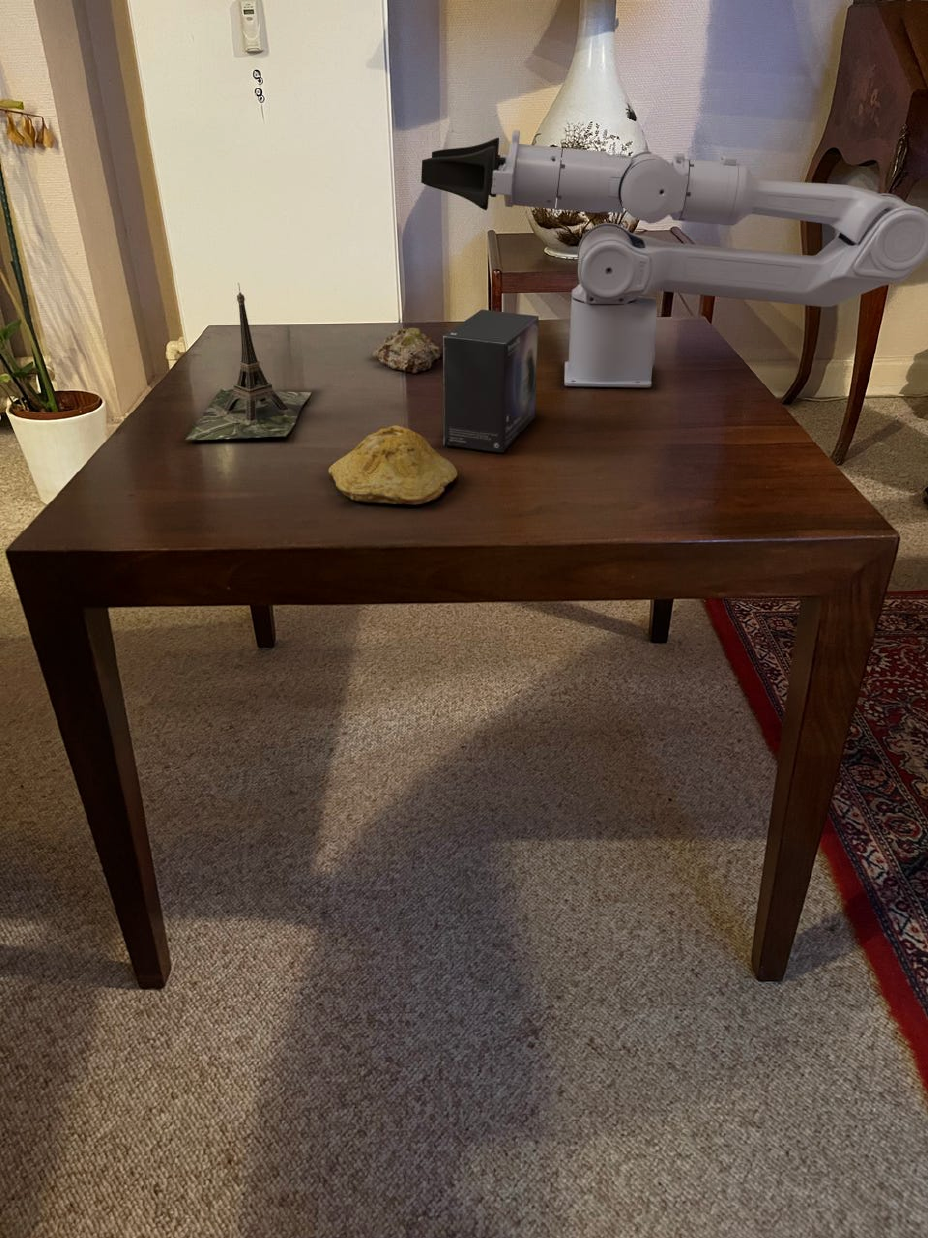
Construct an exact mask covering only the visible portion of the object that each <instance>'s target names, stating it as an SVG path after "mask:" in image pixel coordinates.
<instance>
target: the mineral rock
mask: <svg viewBox="0 0 928 1238" xmlns="http://www.w3.org/2000/svg"><path fill="white" fill-rule="evenodd" d="M441 354H443V351H442V350H441V347H440V346H437V345H436V344H435V340H434V339H433V338H431V337H428V336H427V335H426V334H425V333H422V331H421V329H420V328H417V327H401V328H400V329H399V330H396V331H394V332H391V333H390V335H389V336H387V337H386V338H385V339H384V340H383V341H382V342H381V346H377V347H376V348H375V351H373V353H372V355H373V356H374V357H375V358H376V359H378V360H379V362H380V363H383V364H385V365H387V367H389V368H391V369H392V370H399V371H404V372H407V373H408V372H410V373H412V374H418V373H419V372H422V371H427V370H429V369H430V368H431V367H433V362H434V361H437V360H439V359H440V357H441Z"/></svg>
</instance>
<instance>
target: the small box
mask: <svg viewBox="0 0 928 1238" xmlns="http://www.w3.org/2000/svg"><path fill="white" fill-rule="evenodd" d="M539 317H540V316H539V315H533V314H532V315H531V314H522V313H515V312H507V311H498V310H490V309H480V310H479V311H477V312H476V313H474V314H473V315H471V316H470V317H468V318H467V319H466V320H464V321H463V322H461V323H460V324H459V325H457V326H455V327H454V328H452V329H451V330H450V331H448V332H447V333H445V334H443V336H442V368H443V369H442V370H443V371H442V373H443V374H442V382H443V384H442V385H443V387H442V388H443V439H442V440H443V442H442V445H443V446H447V447H448V446H449V447H458V448H463V449H472V450H476V451H477V450H478V451H486V452H492V453H499V454H500V453H501V454H502V453H504V452H505V451H506V450H507V449H508V447H510V445H511V444H512V443H514V442H515V440H516V439H517V438H518V436H520V435H521V433H522V432H524V430H525V429H526V428H527V427H528V426H529V424H531V422H532V421H533V420H534V419H535V417H536V392H537V391H536V390H537V365H538V345H539V344H538V343H539V342H538V340H539V319H540V318H539Z"/></svg>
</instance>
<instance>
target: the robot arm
mask: <svg viewBox="0 0 928 1238" xmlns="http://www.w3.org/2000/svg"><path fill="white" fill-rule="evenodd" d="M520 137H521V131H520V130H517V129H514V130H513V131H512V137H511V141H510V144H509V148H508V155H507V154H503V155H500V154H499V147H500V137H495V138H493V139H491V140H490V139H489V140H488V141H485V142H483V143H479V144H475V145H471V146H470V145H469V146H464V147H456V148H455V147H453V148H445V149H438V150H434V151H432V152H431V157H428V158H425V159H422V160H421V177H420V182H421V184H423V185H426V186H428V187H430V188H434V189H436V190H440V191H444V192H446V193H447V192H448V193H450V194H453V195H456V196H459V197H461V198H464V199H466V200H467V201H469V202H471V203H472V204H474V205H476V206H477V207H478V208H479V209H482V210H483V211H487V210H488V209H489V201H490V199H489V198H490V197H491V198H496V197H497V195H500V196H501V195H502V196H503V200H504V206H505V207H506V208H513V207H514V206H517V207H529V208H539V209H549V210H560V211H561V210H562V211H571V212H582V213H591V214H600V213H613V214H624V212H625V211H626V213H627V214H628V215H629V216H631V217H632V218H635V219H636V220H638V221H643V222H646V223H647V224H649V225H650V224H651V225H652V224H655V223H656V224H657V223H658V222H661V221H663V220H664V219H666V218H667V217H669V216H670V217H671V219H672V220H673V221H676V222H677V221H679V222H688V223H689V222H690V223H699V224H709V225H719V226H729V227H733V226H736V225H737V224H738V223H740V222H741V221H742V220H744V219H745V218H747V217H749V216H750V215H758V216H765V217H773V218H779V219H786V220H787V219H788V220H795V221H802V222H803V221H804V222H810V223H818V224H824V225H825V224H826V225H829V226H831V227H832V228H833V229H835V230H836V231H838V234H837V235H836V237H835V238H834V239H833V240H831V241H830V242H829V243H828V244H827V245H826V246H825V247H823V248H822V249H821V250H820V251H819V252H818V253H816V254H814V255H807V254H797V253H787V252H777V251H776V252H774V251H765V250H755V249H754V250H753V249H744V248H734V247H733V248H732V247H722V246H713V245H703V244H702V245H701V244H692V243H680V242H670V241H665V240H661V239H659V238H654V237H652V236H648V235H640V234H635V233H632V232H630V231H628V230H627V229H626V228H624V227H623V226H621V225H619V224H616V223H613V222H603V223H601V224H597V225H594V226H593V227H591V228H589V229H588V230H587V231H586V232H585V233H584V235H583V236H582V237H581V240H580V241H579V244H578V249H577V252H576V253H577V255H576V256H577V263H578V266H577V277H578V278H577V279H578V282H579V284H578V285H576V287H574V288H573V289H572V290H571V303H570V325H569V345H568V346H569V348H568V360H567V361H565V362H564V383H563V384H564V386H565V387H588V388H589V387H591V388H592V387H594V388H596V387H597V388H599V387H600V388H606V387H607V388H651V387H652V384H653V383H652V376H653V367H655V359H656V350H655V345H656V335H657V322H658V321H657V320H658V318H657V317H658V302H657V298H656V297H652V296H651V295H653V294H656V293H661V292H667V293H677V294H687V295H697V296H709V297H719V298H727V299H728V298H729V299H737V300H738V299H739V300H749V301H758V302H769V303H777V304H778V303H779V304H789V305H791V304H792V305H800V306H801V305H802V306H811V307H820V308H821V307H822V308H828V307H834V306H837V305H839V304H842V303H844V302H847V301H849V300H851V299H854V298H856V297H858V296H861V295H863V294H866V293H868V292H871V291H873V290H875V289H878V288H880V287H883V286H889V285H895V284H900V283H901V282H903V281H904V280H906V278H907V277H909V276H910V275H911V274H912V273H913V272H914V271H915V270H916V269H917V268H918V267H920V266H921V265H922V263H924V262H925V261H926V260H927V259H928V211H926V209H923V208H921V207H919V206H916V205H911V204H909V203H907V202H905V201H904V200H903V199H901V197H899V196H897V195H895V194H891V193H878V192H876V191H874V190H870V189H867V188H863V187H859V186H853V185H849V184H837V183H821V182H804V181H803V182H802V181H785V180H766V179H765V180H764V179H756V178H755V176H754V175H753V173H752V172H751V170H750V168H749V167H748V166H747V164H744V163H737V158H736V157H735V156H734V155H733V156H732V155H722V156H721V158H720V161H713V160H701V159H690V158H685V156H686V155H685V154H684V153H682V152H674V153H673V155H672V160H671V162H670V161H668V160H666V159H665V158H663V157H662V156H661V155H659V154H655V153H653V152H652V151H650V150H644V151H641V152H638V153H636V154H633V155H632V156H630V155H626V154H623V153H614V154H609V152H608V151H602V150H590V149H581V148H570V147H558V146H546V145H535V144H525V143H520V139H521V138H520Z"/></svg>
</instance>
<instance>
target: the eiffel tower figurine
mask: <svg viewBox="0 0 928 1238" xmlns="http://www.w3.org/2000/svg"><path fill="white" fill-rule="evenodd" d="M237 284H238V291H239V292H238V294H237V295H236V300H237V303H238V311H239V313H238V314H239V324H240V341H241V343H240V345H241V356H240V357H241V359H240V362H239V365H240V368H239V373H238V378H237V382H236V383H235V384H233V388H221V389H220V390H219V391H218V392H217V393H216V395H215V396H214V398H213V400H212V401H211V402H210V404H209V405H208V406H207V408H206V409H205V411H203V413H202V415H201V416H200V417H199V419H198V420H197V421H196V423H195V425H194V426H193V427H192V429H191V430H190V432H189V434H188V435H187V436H186V438H185V441H208V440H211V441H212V440H233V439H251V438H252V439H253V438H272V437H287V436H288V434H289V433H290V432H291V430H292V429H293V427H294V425H295V424H296V422H297V419H298V416H299V415H300V414H301V413H300V411H301V410H302V408H303V406H304V404H305V403H306V401H308V399H309V397H311V394H312V393H313V392H312V391H275V390H274V389H273V384H272V383H270V382H269V381H268V380H267V378H266V377H265V374H264V372H263V370H262V368H261V366H260V364H261V362H260V361H259V360H258V358H257V355H256V351H255V346H254V343H253V338H252V335H251V329H250V324H249V320H248V314H247V310H246V304H245V301H246V298H245V295H244V294H242V292H241V286H240V282H238V283H237Z"/></svg>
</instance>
